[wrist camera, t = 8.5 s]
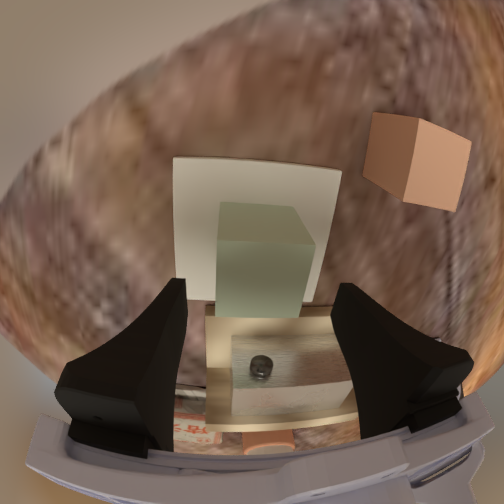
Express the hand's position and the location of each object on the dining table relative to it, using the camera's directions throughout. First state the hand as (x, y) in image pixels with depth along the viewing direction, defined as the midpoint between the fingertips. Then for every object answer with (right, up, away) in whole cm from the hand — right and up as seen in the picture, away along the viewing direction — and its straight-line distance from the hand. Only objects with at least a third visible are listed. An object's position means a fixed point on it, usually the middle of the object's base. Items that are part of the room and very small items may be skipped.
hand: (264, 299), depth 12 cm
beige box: (+2, -6, +11) cm, 12 cm away
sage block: (0, +3, +5) cm, 6 cm away
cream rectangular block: (+2, -6, +10) cm, 12 cm away
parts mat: (-1, +3, +6) cm, 6 cm away
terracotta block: (+9, +9, +3) cm, 13 cm away
